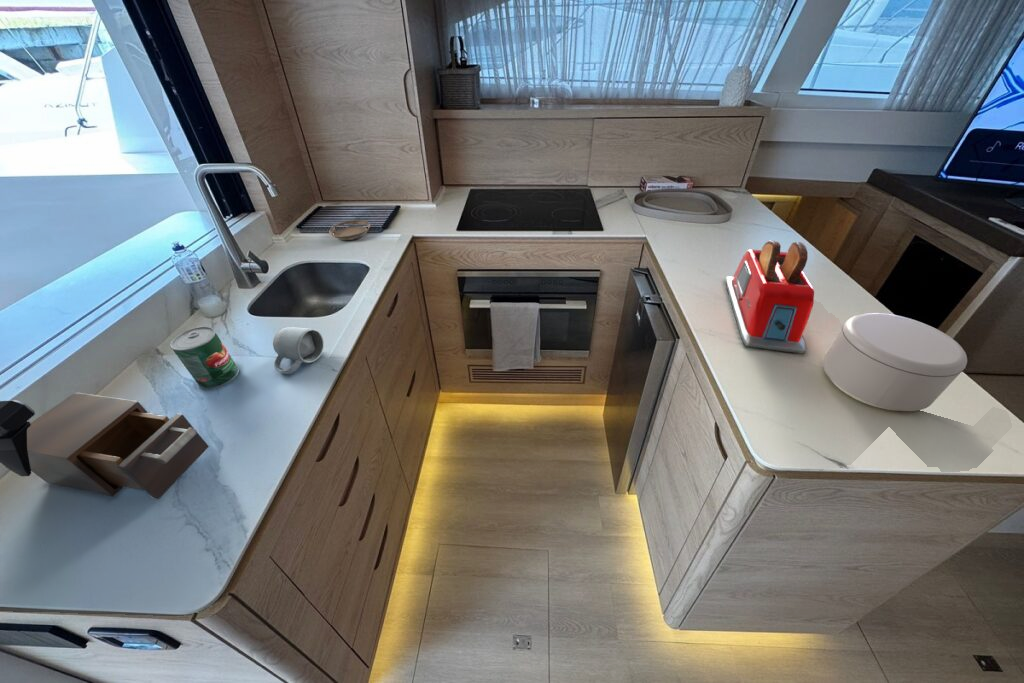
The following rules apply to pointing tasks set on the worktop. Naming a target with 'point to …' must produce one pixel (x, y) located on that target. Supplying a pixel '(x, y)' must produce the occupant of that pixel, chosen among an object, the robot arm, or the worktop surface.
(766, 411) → the worktop surface
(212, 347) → the canned tomato
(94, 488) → the storage box
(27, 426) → the robot arm
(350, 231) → the saucer
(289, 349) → the ceramic mug
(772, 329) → the toaster
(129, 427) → the drawer
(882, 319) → the container
